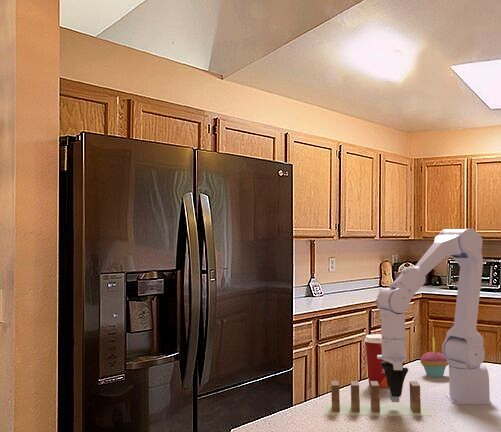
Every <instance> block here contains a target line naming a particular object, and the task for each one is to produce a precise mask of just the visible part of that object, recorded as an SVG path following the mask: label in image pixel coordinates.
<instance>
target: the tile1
mask: <svg viewBox="0 0 501 432" xmlns="http://www.w3.org/2000/svg"><path fill="white" fill-rule="evenodd" d="M409 405H410V408H411V410H412V412H413V413H421V405H422V404H421V385H420V383H419V382H418V381H417V380H415V381H414V380H411V381H409Z"/></svg>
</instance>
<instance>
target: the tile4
mask: <svg viewBox="0 0 501 432" xmlns="http://www.w3.org/2000/svg"><path fill="white" fill-rule="evenodd" d="M360 400H361V399H360V383H359V381H358V380H350V404H351V408H352V412H360V404H361V403H360Z"/></svg>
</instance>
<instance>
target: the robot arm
mask: <svg viewBox="0 0 501 432" xmlns="http://www.w3.org/2000/svg"><path fill="white" fill-rule="evenodd" d="M483 241H484V240H483V238H482V237H481V235H480V234H479V233H478V231H477V230H476V229H474V228H464V229H463V228H462V229H461V228H460V229H459V228H458V229H457V228H455V229H451V228H450V229H449V228H446V229H442V230H441V231H440V232H439V234H438V235H436V236H435V237H434V241H433V243H432V245H430V247H429V248H428V249H427V250H426V251H425V253H424V254H423V256H422V257H420V258H419V260H418V262H417V263H416V264H415V265H414V266H407V267H404V268H402V269H401V273H400V274H399V275H398V276H397V277H396V278H395V280H394V281H391V282H390V284H389V286H388V287H385V288H383V289H381V290H380V291H379V293H378V295H377V298H376V299H375V300H374V301H375V305H376V307H377V308H378V310H379V316H380V331H381V338H382V355H377V359H382V360H384V361H381V364H382V366H383V368H384V371H385V375H386V379H387V385H388V387H387V389H388V390H389V386H390V392H391V395H392V397H399V398H401V396H402V392H403V386H404V383H405V378H406V376H407V374H408V372H409V368H408V367H404V365H405V362H406V361H407V358H408V356H407V351H406V350H407V349H406V348H407V347H406V345H407V343H406V316H405V315H406V313H405V312H406V311H407V310H409V307H410V305H411V299H413V298H412V297H414V295H416V293H417V292H419V290H420V289H421V288H422V287H423V286H424V285H425V284H426V276H427V274H429V273H430V272H431V271H432V270H433V269H434V268H435V267H436V266H437V265H438V264H439V263H441V261H442V260H444V258H446V257H451V259H453V260H454V261H455V262H456V263H457V264H458V265H459V274H458V283H457V293H456V302H455V303H456V304H455V309H454V310H455V312H454V320H453V321H454V322H453V326H452V327H450V328H449V330H448V331H446V333H445V334H446V336H445V339H444V341H443V343H442V346H441V353H443V356H444V357H445V358H446V359H447V363H448V364H449V365H448V381H449V382H448V385H449V393H445V395H444V396H445V397H446V398H447V399H448V401H449V402H450V403H451V404H453V405H454V404H456V405H457V404H459V405H460V404H461V405H462V404H463V405H466V404H467V405H491V401H490V399H491V398H490V397H491V395H490V377H489V371H488V368H487V366H486V365H482V363H483V362H484V360H485V356H486V355H485V354H486V352H485V347H484V337H483V335H482V334H480V333H479V331H478V330H477V323H478V316H479V315H478V314H479V303H480V294H481V285H482V277H483V276H482V275H483V267H484V258H483V254H482V253H483V252H482V249H483Z"/></svg>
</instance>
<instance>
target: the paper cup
mask: <svg viewBox="0 0 501 432" xmlns="http://www.w3.org/2000/svg"><path fill="white" fill-rule="evenodd" d="M364 342H365V350H366V351H365V352H366V365H367V375H368V385H369V387H370V381H378V384H379V389H384V388H388V385H387V379H386V375H385V371H384V368H383V366H382V364H381V361H384V360H382V359H377V355H382V338H381V334H379V333H376V334H374V333H373V334H367V335H365V339H364Z"/></svg>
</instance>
